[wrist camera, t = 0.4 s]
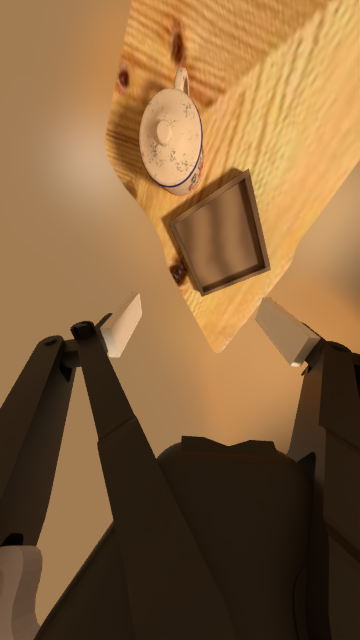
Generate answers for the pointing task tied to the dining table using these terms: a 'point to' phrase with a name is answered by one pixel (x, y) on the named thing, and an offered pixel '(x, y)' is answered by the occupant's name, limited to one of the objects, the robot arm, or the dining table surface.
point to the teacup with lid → (173, 138)
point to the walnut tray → (223, 237)
